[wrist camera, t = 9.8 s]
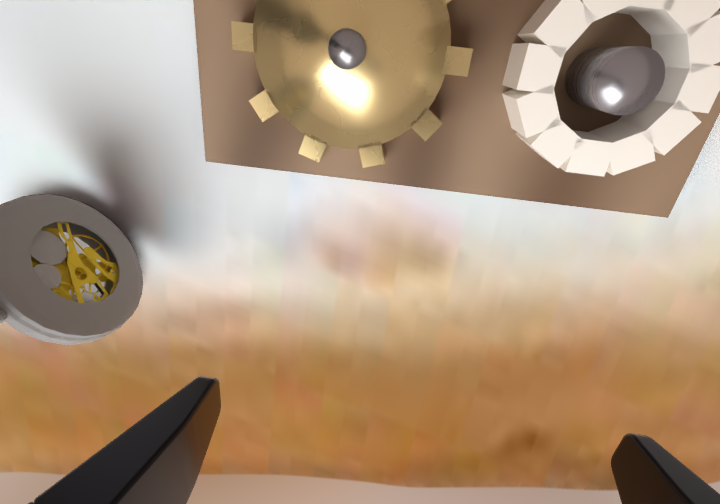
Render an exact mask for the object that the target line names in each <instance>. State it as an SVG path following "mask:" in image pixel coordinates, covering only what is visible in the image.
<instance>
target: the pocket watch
mask: <svg viewBox="0 0 720 504" xmlns="http://www.w3.org/2000/svg"><path fill="white" fill-rule="evenodd" d="M142 286H143V279H142V271H141V268H140V264H139V261H138V258H137V255H136V253H135V251H134V249H133V247H132V246H131V244H130V242H129V240H128V239H127V238H126V237H125V235H124V234H123V233H122V231H121V230H120V229H119V228H118V227H117V226H116V225H115V224H114V223H113V222H112V221H111V220H109V219H108V218H107V217H105V216H104V215H103V214H101V213H100V212H99V211H97V210H96V209H94V208H92V207H90V206H88V205H86V204H84V203H82V202H80V201H77V200H74V199H71V198H67V197H63V196H57V195H50V194H40V195H29V196H23V197H20V198H17V199H15V200H12V201H9V202H6V203H3V204H1V205H0V323H2V322H3V321H5V322H7V323H8V324H9V325H11V326H12V327H13V328H15V329H16V330H18V331H19V332H21V333H23V334H26V335H28V336H31V337H33V338H36V339H39V340H41V341H45V342H51V343H58V344H64V345H74V344H80V343H86V342H93V341H96V340H98V339H100V338H102V337H104V336H106V335H108V334H110V333H111V332H113V331H115V330H117V329H118V328H120V327H121V326H122V325H123V324H124V323H125V322H126V321H127V320H128V319H129V318H130V317H131V316H132V314H133V313H134V311H135V310H136V308H137V307H138V304H139V301H140V298H141V295H142Z"/></svg>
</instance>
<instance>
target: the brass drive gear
mask: <svg viewBox="0 0 720 504" xmlns="http://www.w3.org/2000/svg"><path fill="white" fill-rule="evenodd" d="M451 1H452V0H258V2H257V5H256V9H255V15H254V21H253V23H244V22H236V21H231V27H232V50H240V51H249V52H254V56H255V62H256V67H257V70H258V73H259V76H260V79H261V82H262V84H263V86H264V89H265V90H264V91H262V92H261V93H259V94H258V95H256V96H255V97H253V98H252V99H250V100H249V102H250V104H251V105H252V107H253V108H254V110H255V111H256V113H257V114H258V116H259V117H260V119H261V121H262V122H264V121H265V120H267V119H269V118H271V117H272V116H274V115H275V114H277V113H278V112H279V113H280V114H281V115H282V116H283V117H284V118H285V119H286V120H287V121H288V122H289V123H290V124H291V125H292V126H293V127H295V128H296V129H297V130H298V131H300V132H301V133H303V134H304V135H305V136H304V139H303V142H302V144H301V147H300V150H299V154H301V155H303V156H305V157H308V158H310V159H312V160H314V161H316V162H320V161H321V159H322V157H323V155H324V153H325V150H326V148H327V145H329V146H333V147H338V148H345V149H359V153H360V157H361V162H362V167H363V168H365V167H370V166H376V165H381V164H385V153H384V148H383V143H386V142H388V141H390V140H392V139H394V138H396V137H398V136H400V135H401V134H403V133H404V132H405V131H407V130H408V129H410V128H412V129H413V130H414V131H415V132H416V133H417V134H418V135H419V136H420V137H421V138H422V139H423V140H424V141H426V140H427V139H428V138H429V137H430V136H431V135H432V134H433V133H434V132H435V131H436V130H437V129H438V128H439V127H440V126H441V125H442V124H443V123H442V122H441V120H440V119H439V118H438V117H437V116H436V115H435V114H434V113H433V112H432V111H431V110H430V109H429V107H430V106H431V104H432V103H433V101H434V100H435V98H436V96H437V94H438V92H439V90H440V88H441V85H442V83H443V80H444V77H445V75H446V74H447V75H456V76H464V77H467V76H468V72H469V67H470V62H471V57H472V52H473V49H472V48H463V47H454V46H451V27H450V18H449V13H448V9H447V3H449V2H451Z"/></svg>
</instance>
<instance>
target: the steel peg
mask: <svg viewBox="0 0 720 504" xmlns="http://www.w3.org/2000/svg"><path fill="white" fill-rule="evenodd" d="M664 79H665V64H664V61H663V59H662V57H661V56H660V55H659V53H658V52H656V51H655V50H653V49H651V48H649V47H644V46H600V47H593V48H590V49H588V50H586V51H584V52H582V53H581V54H580V55H579V56H577V57H576V58H575V59H574V61H573V62H572V63H571V65H570V67H569V68H568V71H567V73H566V77H565V89H566V92H567V94H568V96H569V97H570V98H571V99H572V100H573V101H574V102H576V103H578V104H581V105H584V106H587V107H590V108H594V109H597V110H600V111H604V112H607V113H610V114H613V115H629V114H633V113H635V112H638V111H640V110H641V109H643V108H644V107H646V106H647V105H648V104H650V103H651V102H652V101H653V100H654V98H655V97H656V96H657V95H658V93H659V91H660V90H661V87H662V85H663V82H664Z"/></svg>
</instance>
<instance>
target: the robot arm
mask: <svg viewBox="0 0 720 504" xmlns="http://www.w3.org/2000/svg"><path fill="white" fill-rule="evenodd" d="M220 409H221V399H220V387H219V381H218V379H216V378H212V377H204V376H200V377H198V378H196V379H195V380H193V381H192V382H191V383H189V384H188V385H187V386H185V387H184V388H183V389H181V390H180V391H179V392H177V393H176V394H175V395H173V396H172V397H171V398H169V399H168V400H167V401H165V402H164V403H163V404H161V405H160V406H159V407H157V408H156V409H155V410H153V411H152V412H151V413H149V414H148V415H147V416H145V417H144V418H142V419H141V420H140V421H138V422H137V423H136V424H134V425H133V426H132V427H130V428H129V429H128V430H126V431H125V432H124V433H122V434H121V435H120V436H118V437H117V438H116V439H114V440H113V441H112V442H110V443H109V444H108V445H106V446H105V447H104V448H102V449H101V450H100V451H98V452H97V453H96V454H94V455H93V456H92V457H90V458H89V459H88V460H86V461H85V462H84V463H82V464H81V465H80V466H78V467H77V468H76V469H74V470H73V471H72V472H70V473H69V474H68V475H66V476H65V477H63V478H62V479H61V480H59V481H58V482H57V483H56V484H54V485H53V486H51V487H50V488H49V489H48V490H46V491H45V492H43V493H42V494H41V495H39V496H38V497H37V498H36V499H35V500H34V503H33V502H30V503H28V504H186V503H187V501H188V499H189V497H190V495H191V492H192V490H193V488H194V485H195V483H196V480H197V477H198V475H199V472H200V469H201V466H202V463H203V460H204V457H205V455H206V452H207V449H208V446H209V443H210V440H211V437H212V434H213V431H214V428H215V426H216V423H217V420H218V417H219V414H220ZM611 467H612V471H613V475H614V478H615V482H616V485H617V489H618V492H619V495H620V499H621V502H622V504H720V494H718V492H716V491H715V490H714V489H713V488H711V487H710V486H709V485H708V484H707V483H705V482H704V481H703V480H702V479H701V478H699V477H698V476H697V475H696V474H694V473H693V472H692V471H691V470H690V469H688V468H687V467H686V466H685V465H684V464H682V463H681V462H680V461H679V460H677V459H676V458H675V457H674V456H673V455H671V454H670V453H669V452H668V451H666V450H665V449H664V448H663V447H662V446H660V445H659V444H658V443H657V442H656V441H654V440H653V439H652V438H650V437H648V436H646V435H640V434H632V433H629V434H626V435H625V436H624V437H623V439H622V440H621V442H620V444H619V445H618V447H617V449H616V450H615V452H614V454H613V456H612V459H611Z"/></svg>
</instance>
